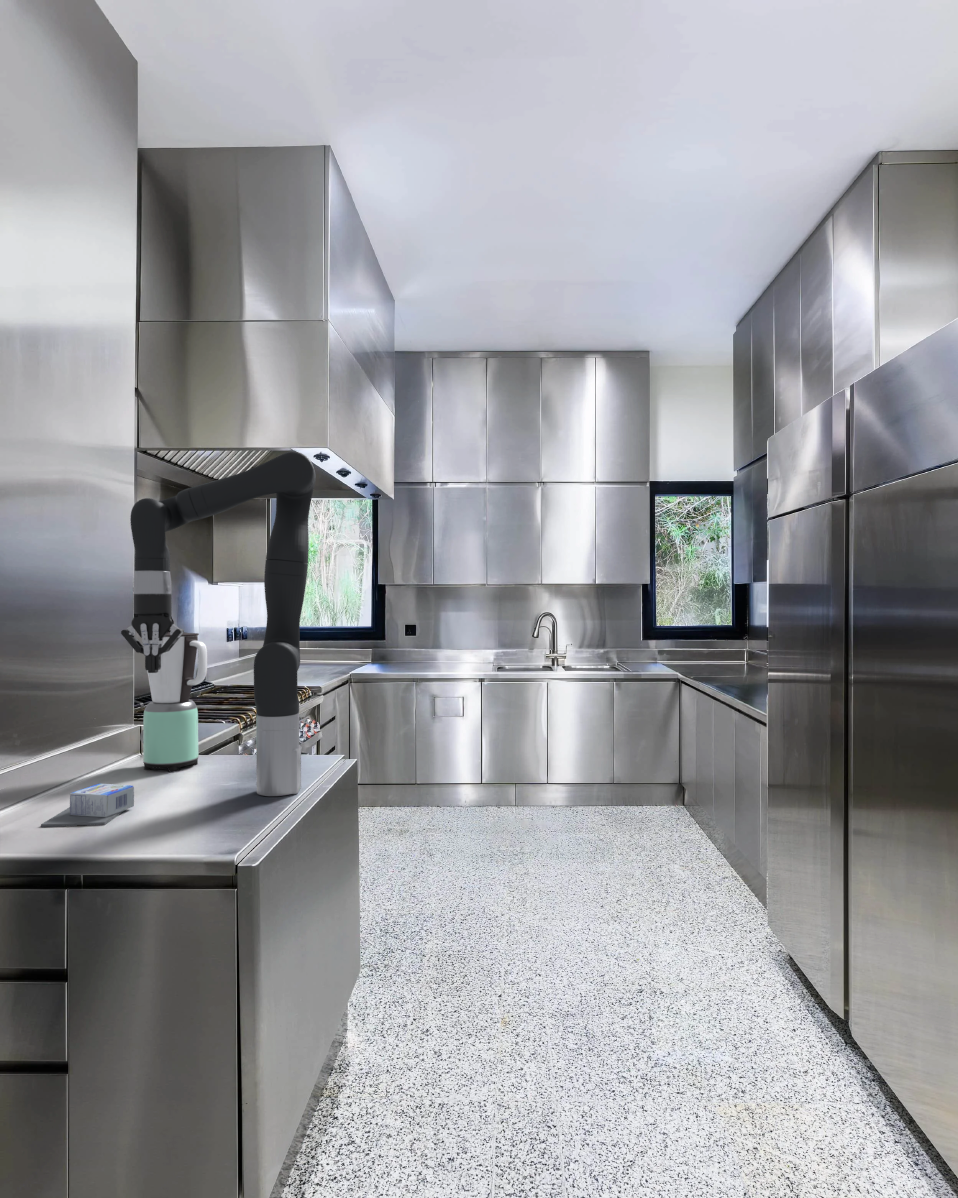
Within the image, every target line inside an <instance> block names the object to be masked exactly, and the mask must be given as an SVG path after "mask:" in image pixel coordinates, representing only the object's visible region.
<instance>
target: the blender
mask: <svg viewBox="0 0 958 1198" xmlns="http://www.w3.org/2000/svg"><path fill="white" fill-rule="evenodd" d="M170 632H171V629H170V631H169V632H168V633H167V635H166V636H165V637H164V638H163V644H162V646H163V645H164V644H165V643H166V641H167V640H168V639H169V638H170V636H171V635H170ZM199 635H200V633H198V632H197V633H195V632H185V631H184V633H183V634H182V636H181V637H180V638H179V639H178V641H177V642H176V643H175V644H174V646H173V647H172V648H171V649H170V651H168V652H165V653H163V654H162V655H161V668H160V670H158V672H157V673H148V670H146V673H147V679H148V684H149V688H150V689H149V690H150V695H151V696H150V697H151V700H152V701H150V702H148V703H147V704H146V706H145V708H144V711H143V717H142V719H143V722H142V725H143V726H142V728H143V729H142V731H141V732H140V736H139V739H140V742H141V743H142V744H143V746H142V749H143V750H142V752H143V753H142V759H143V760H142V761H143V770H145V771H150V770H153V769H158V770H159V769H165V770H166V769H168V772H170V773H174V772H177V771H178V768H182V767H188V766H196V765H198V764H199V763H198V760H199V711H198V706H197V704H196V703H195V701H194V700H192V699H190V697H191V692H192V689H193V686H196V685H199V684H201V683H203V682H204V680H205V678H206V676H207V673H208V649H207V648H208V647H207V645H206V644H205V642H203V641H200V640H199ZM196 659H197V667H196ZM195 667H196V668H197V670H196V671H197V673H196V676H195ZM194 677H195V678H194Z"/></svg>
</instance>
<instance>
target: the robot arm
mask: <svg viewBox="0 0 958 1198" xmlns="http://www.w3.org/2000/svg"><path fill="white" fill-rule="evenodd" d="M316 476H317V474H316V471H315V467H314V465H313V463H312V461H311V459H310V458H309V457H308V456H307V455H306V454H304V453H302V452H299V451H287V452H284V453H281V454H279V455H277V456H276V457H274V458H271V459H270V460H268V461H266V462H264V463H262V464H260V465H257V466H255V467H252V468H249V469H246V470H245V471H243V472H240V473H239V472H238V473H236V474H232V475H229V476H227V477H223V478H220V479H216V480H212V481H210V482H206V483H202V484H198V485H195V486H193V487H188V488H185V489H182V490H180V491H178V492H177V494H176V495H174V496H171V497H167V498H165V499H161V500H157V499H154V498H149V497H146V498H145V497H144V498H142V499H139V500H137V501H136V502H135V503H134V504H133V506H132V509H131V511H130V518H129V519H130V529H131V537H132V541H133V542H132V543H133V546H134V575H133V576H134V577H133V587H132V592H133V593H132V595H133V601H132V602H133V603H132V604H133V605H132V607H133V618H132V620H131V625H129V626H128V627H127V628H126V629H121V631H120V634H121V636H122V637H123V638H124V639H125V641H126V642H127V643H128V644H129V645H130V646H131V648H132V649H133V650H134V651H135V653H137V654H143V655H144V669H145V671H147V670H148V673H157V672H158V670H160V668H161V655H162V654H163V653H165V652H168V651H170V649H171V648H172V647H173V646H174V644H175V643H176V642H177V641H178V639H179V638H180V637H181V636H182V634H183V633H184V632H185V630H184V628H179V626H177V625H176V624H175V621H174V618H172V611H173V610H172V609H173V608H172V576H171V554H170V549H169V547H168V544H167V540H166V539H167V538H166V533H167V532H169V531H172V530H175V529H178V528H180V527H182V526H184V525H186V524H189V523H190V522H194V521H198V520H203V519H206V518H208V517H213V516H215V515H218V514H222V513H224V512H227V511H229V510H231V509H234V508H236V507H237V506H238V507H239V506H240V505H242V504H244V503H246V502H249V501H251V500H255V499H256V498H261V497H264V496H268V495H274V494H276V498H275V517H274V518H275V519H274V523H273V525H272V529H271V533H270V536H269V540H268V544H267V549H266V555H265V564H264V565H265V566H264V576H263V577H264V580H263V581H264V583H263V584H264V585H263V586H264V597H265V606H266V626H265V627H266V628H265V633H264V640H263V645H262V647H260V648H259V649H258V651H257V653H256V654H255V656H254V661H253V692H254V693H253V694H254V695H253V696H254V697H253V698H254V699H253V700H254V704H255V711H256V712H255V715H256V716H255V717H256V718H255V721H256V722H255V723H256V725H255V727H256V730H255V732H256V740H255V741H256V743H255V744H256V746H255V747H256V751H255V752H256V753H255V755H256V757H255V758H256V762H255V763H256V768H255V769H256V773H255V774H256V784H255V785H256V794H257V795H259V796H262V797H263V796H264V797H280V796H288V795H297V794H298V793H299V792H300V789H301V788H302V745H300V700H299V695H298V694H299V692H298V671H299V668H300V665H301V649H300V648H301V644H300V626H301V617H302V612H303V611H302V610H303V605H304V601H305V600H304V599H305V594H306V585H307V580H308V579H307V578H308V569H309V568H308V565H309V546H310V545H309V543H310V542H309V541H310V540H309V539H310V536H309V516H310V509H311V504H312V499H313V493H314V489H315V486H316V485H315V484H316V480H317V477H316ZM170 630H171V632H170V635H171V636H170V638H169V639H168V640H167V641H166V643H165V644H164V645H163V646H162V644H163V638H164V637H165V636H166V635H167V633H168V632H169V631H170ZM136 633H137V634H138V636H139V637H140V639H141V641H140V640H139V639H138V637H137V636H136ZM148 673H147V674H148Z"/></svg>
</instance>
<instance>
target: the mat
mask: <svg viewBox="0 0 958 1198" xmlns="http://www.w3.org/2000/svg"><path fill="white" fill-rule="evenodd" d="M124 811H125V810H123V811H121V812H118V813H116V814H113V815H111V816H108V817H91V816H76V815H70V806H69V807H67V808H66V809H64V810H62V811H60V812H59V813H58V814H56V815H54V816H52V817H51V818H49V819H48V820H46V821H44V822H43V823H40V827H41V828H46V827H47V828H50V827H51V828H53V826H58V827H78V826H77V825H87V826H106V825H107V824H108V823H110V821H112V820H114V819H115V818H116V817H118V816H119V815H120V814H122V813H123V812H124Z"/></svg>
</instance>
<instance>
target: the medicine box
mask: <svg viewBox="0 0 958 1198" xmlns="http://www.w3.org/2000/svg"><path fill="white" fill-rule="evenodd" d="M134 806H135V787H134V785H129V784H112V783H111V784H110V783H97V784H93V785H91V786H87V787H85V788H81V789H78V790H75V791H73V792H70V793H69V807H70V815H76V816H91V817H108V816H111V815H113V814H116V813H118V812H121V811H123V810H124V811H126V810H127V809H128V810H129V809H130V808H133V807H134ZM124 811H123V812H124Z"/></svg>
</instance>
